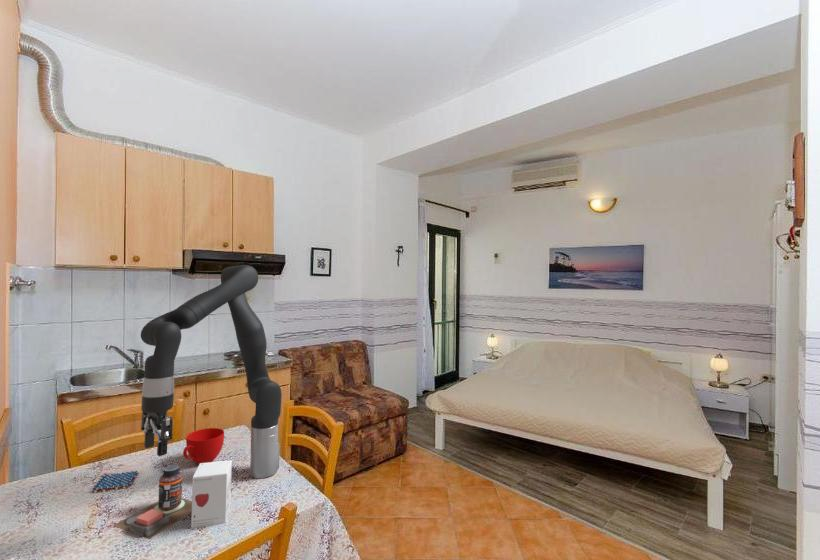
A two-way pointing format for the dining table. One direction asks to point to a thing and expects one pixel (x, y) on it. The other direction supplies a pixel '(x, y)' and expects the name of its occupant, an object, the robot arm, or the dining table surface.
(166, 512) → the brown tray
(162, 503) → the supplement bottle
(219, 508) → the supplement box
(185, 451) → the ceramic cup
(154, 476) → the dining table surface
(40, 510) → the dining table surface
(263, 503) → the dining table surface
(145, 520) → the button
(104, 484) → the woven mat
